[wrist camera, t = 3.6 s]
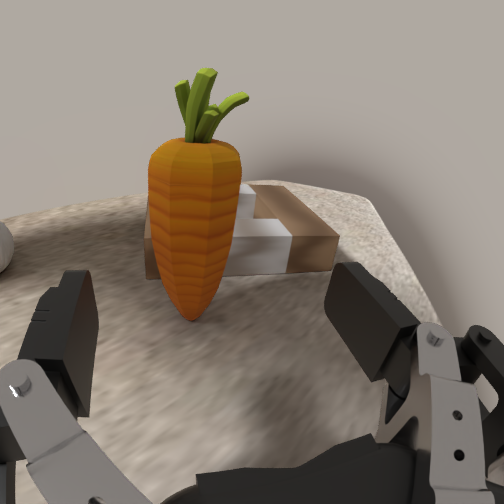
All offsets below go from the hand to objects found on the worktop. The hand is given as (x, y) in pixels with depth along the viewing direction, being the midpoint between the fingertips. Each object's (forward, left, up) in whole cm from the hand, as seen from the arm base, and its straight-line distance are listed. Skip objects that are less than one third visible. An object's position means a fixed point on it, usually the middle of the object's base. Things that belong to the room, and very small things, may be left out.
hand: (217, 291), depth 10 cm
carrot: (0, +8, -8) cm, 11 cm away
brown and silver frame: (+5, +20, -8) cm, 22 cm away
